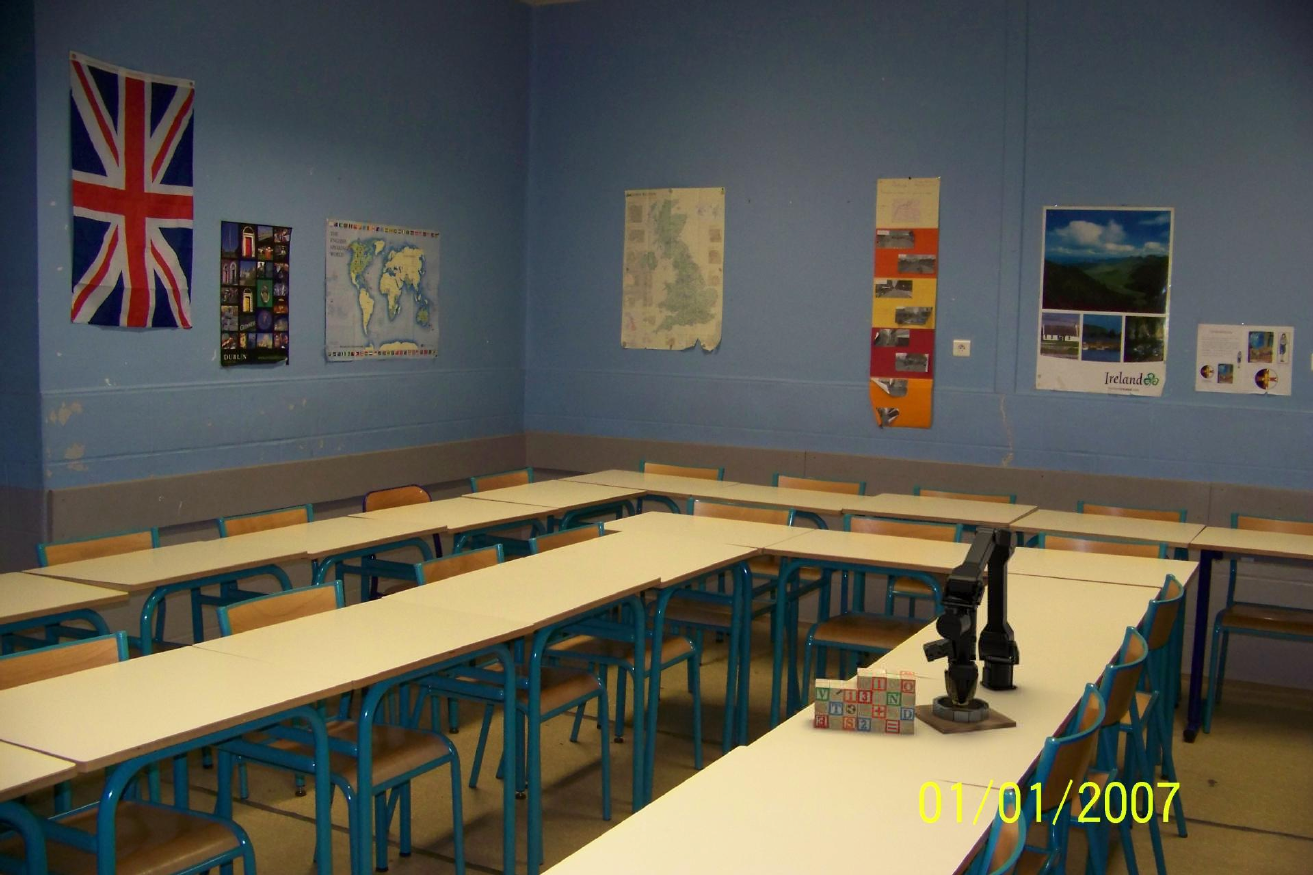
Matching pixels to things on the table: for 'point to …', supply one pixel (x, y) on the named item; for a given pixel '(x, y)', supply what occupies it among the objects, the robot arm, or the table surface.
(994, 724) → the base plate
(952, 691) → the cup
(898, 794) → the table surface
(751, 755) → the table surface
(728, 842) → the table surface
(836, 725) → the stack of blocks
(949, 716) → the gray stone ring
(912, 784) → the table surface
